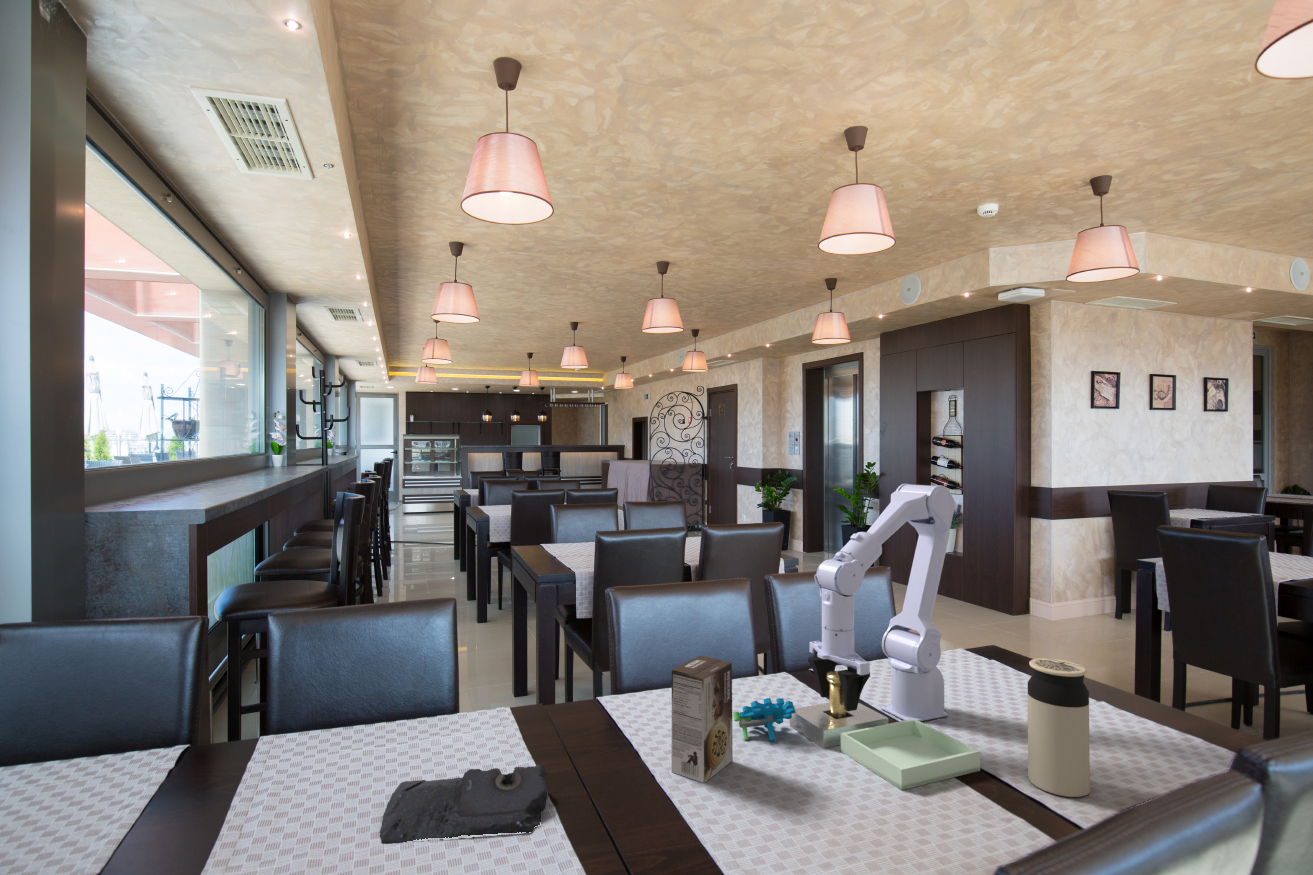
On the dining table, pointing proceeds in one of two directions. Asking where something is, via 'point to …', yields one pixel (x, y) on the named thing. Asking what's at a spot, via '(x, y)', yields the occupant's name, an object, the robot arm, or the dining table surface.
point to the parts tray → (910, 753)
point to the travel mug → (1058, 728)
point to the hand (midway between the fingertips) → (838, 702)
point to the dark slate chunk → (466, 805)
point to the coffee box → (701, 717)
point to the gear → (764, 715)
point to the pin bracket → (832, 723)
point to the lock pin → (836, 696)
